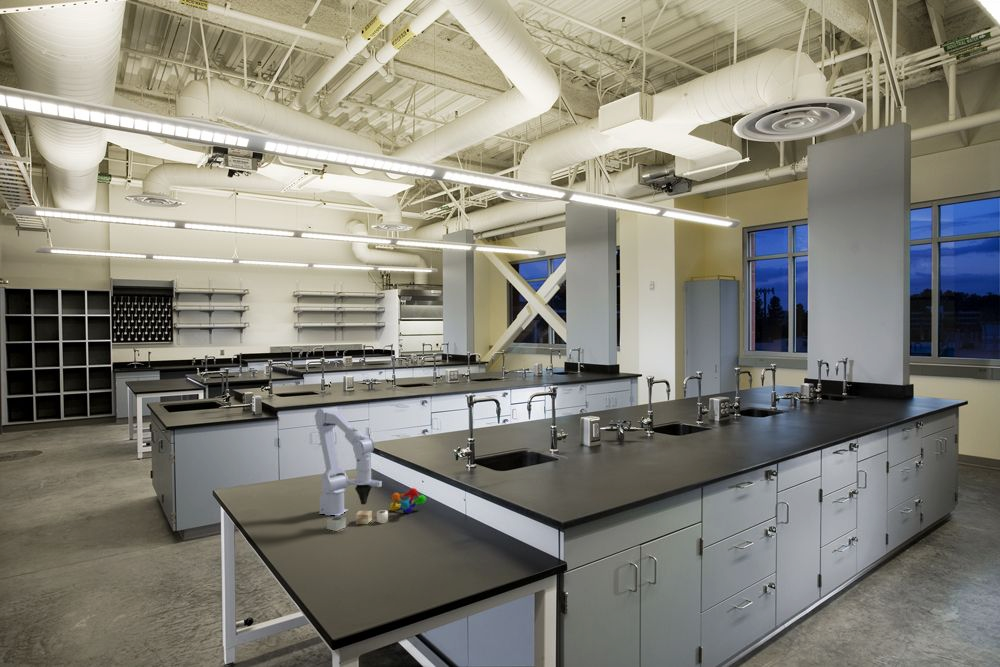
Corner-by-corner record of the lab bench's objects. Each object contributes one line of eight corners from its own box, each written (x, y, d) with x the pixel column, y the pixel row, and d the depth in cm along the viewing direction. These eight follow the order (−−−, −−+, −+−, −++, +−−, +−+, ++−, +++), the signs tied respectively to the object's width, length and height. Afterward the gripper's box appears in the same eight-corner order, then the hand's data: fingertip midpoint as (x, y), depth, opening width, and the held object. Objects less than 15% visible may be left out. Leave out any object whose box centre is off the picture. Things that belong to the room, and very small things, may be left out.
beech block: (355, 524, 217) (355, 514, 217) (359, 520, 222) (359, 510, 222) (368, 524, 217) (368, 514, 217) (371, 520, 222) (371, 510, 222)
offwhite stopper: (374, 523, 219) (374, 512, 219) (379, 519, 223) (379, 509, 223) (385, 524, 218) (385, 513, 218) (389, 520, 222) (389, 510, 222)
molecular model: (385, 521, 230) (406, 512, 221) (379, 499, 233) (399, 489, 224) (413, 513, 242) (434, 503, 233) (406, 491, 244) (427, 481, 236)
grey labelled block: (326, 530, 212) (326, 519, 212) (336, 526, 216) (336, 515, 216) (336, 532, 209) (336, 521, 209) (346, 528, 214) (345, 517, 214)
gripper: (342, 471, 218) (342, 505, 218) (376, 473, 214) (376, 508, 214) (350, 466, 224) (350, 500, 224) (383, 468, 221) (384, 502, 221)
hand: (363, 503), depth 220 cm, fingers closed
